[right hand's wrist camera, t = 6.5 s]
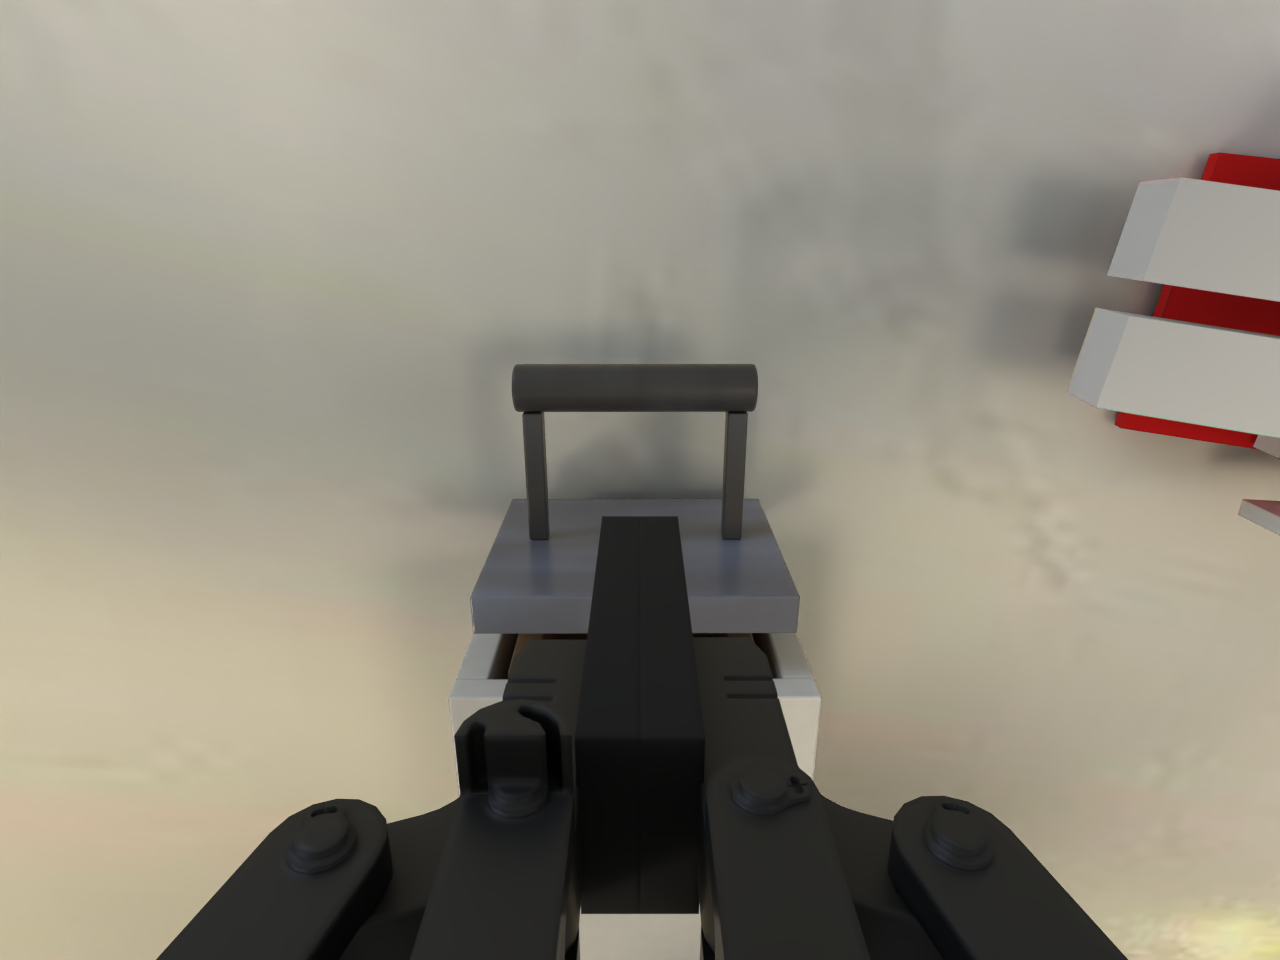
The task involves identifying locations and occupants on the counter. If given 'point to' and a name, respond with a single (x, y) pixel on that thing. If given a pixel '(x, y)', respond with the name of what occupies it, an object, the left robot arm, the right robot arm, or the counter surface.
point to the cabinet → (646, 943)
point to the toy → (1197, 315)
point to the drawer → (633, 513)
